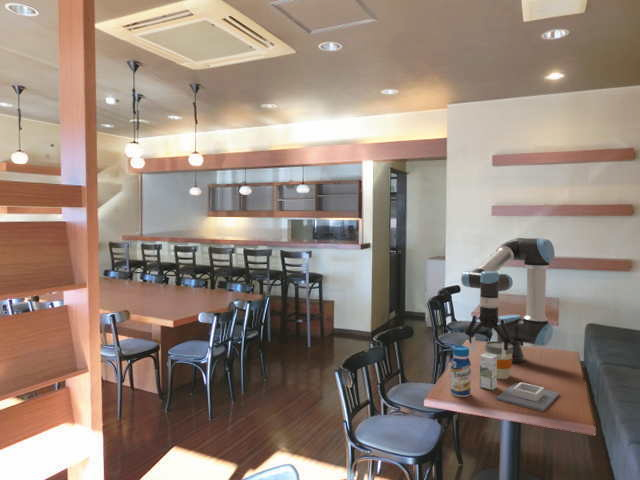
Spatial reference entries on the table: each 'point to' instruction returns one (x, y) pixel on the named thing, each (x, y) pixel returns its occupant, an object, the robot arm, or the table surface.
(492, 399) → the table surface
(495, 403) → the table surface
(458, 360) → the beverage bottle
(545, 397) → the keeper board
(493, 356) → the syrup box
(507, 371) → the reusable coffee cup
